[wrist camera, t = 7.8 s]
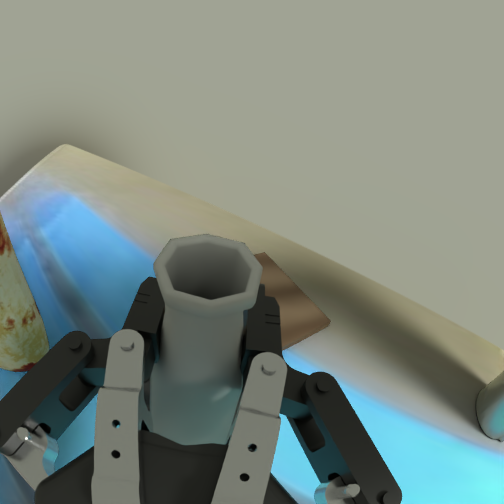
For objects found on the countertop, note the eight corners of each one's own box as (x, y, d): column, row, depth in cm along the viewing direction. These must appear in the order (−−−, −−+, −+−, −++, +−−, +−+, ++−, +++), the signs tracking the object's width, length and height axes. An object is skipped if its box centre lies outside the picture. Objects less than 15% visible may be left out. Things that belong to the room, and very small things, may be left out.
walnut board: (327, 326, 32) (330, 321, 32) (228, 376, 25) (229, 371, 24) (263, 257, 41) (264, 252, 40) (171, 282, 33) (171, 276, 33)
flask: (139, 345, 16) (116, 199, 10) (251, 347, 17) (293, 211, 12) (134, 455, 10) (52, 367, 4) (272, 452, 12) (369, 364, 6)
